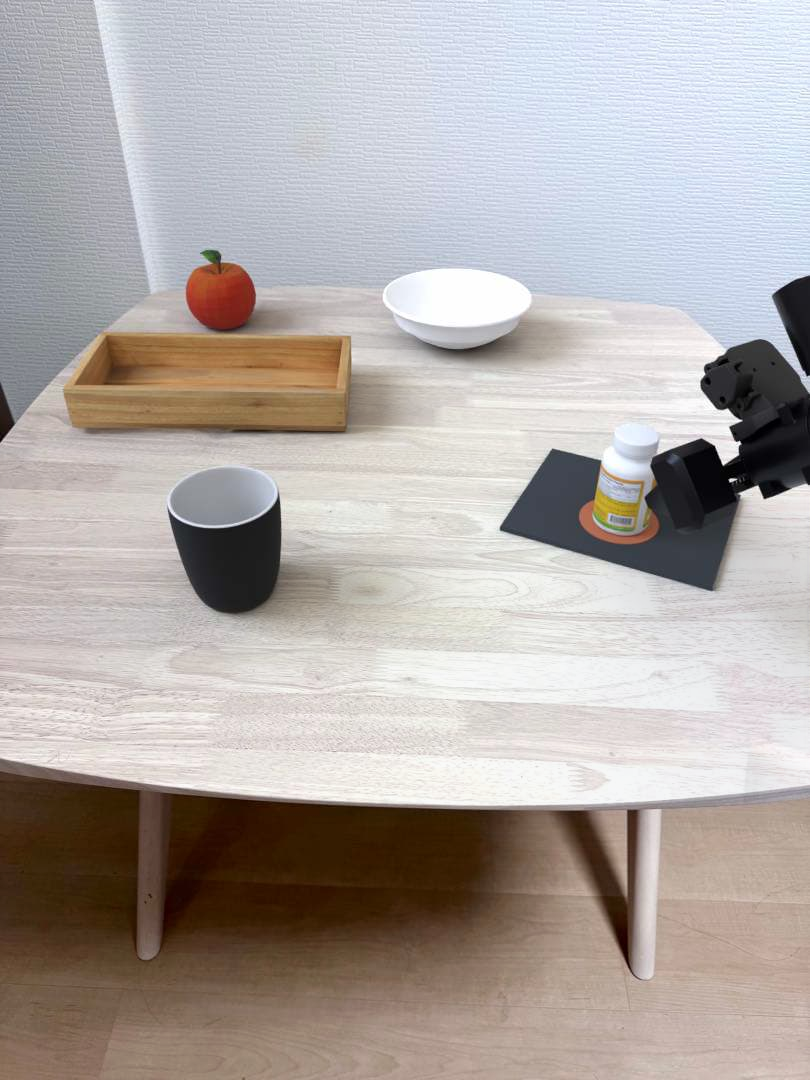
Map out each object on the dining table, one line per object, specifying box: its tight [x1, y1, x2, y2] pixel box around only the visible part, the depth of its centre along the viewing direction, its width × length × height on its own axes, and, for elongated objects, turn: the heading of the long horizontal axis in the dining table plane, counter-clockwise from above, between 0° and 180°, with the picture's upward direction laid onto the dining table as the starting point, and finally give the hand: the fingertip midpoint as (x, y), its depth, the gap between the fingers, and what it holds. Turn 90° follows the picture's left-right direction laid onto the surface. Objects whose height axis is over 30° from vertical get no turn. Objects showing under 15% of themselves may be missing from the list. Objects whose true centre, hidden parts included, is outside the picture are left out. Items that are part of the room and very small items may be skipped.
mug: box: [166, 464, 282, 614], centre depth 72 cm, size 12×9×10 cm
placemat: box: [499, 448, 742, 592], centre depth 84 cm, size 20×16×1 cm
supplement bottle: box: [593, 422, 661, 536], centre depth 79 cm, size 5×5×10 cm
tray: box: [62, 331, 352, 432], centre depth 100 cm, size 31×15×6 cm, turn 91°
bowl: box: [382, 267, 533, 350], centre depth 114 cm, size 20×20×6 cm
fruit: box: [185, 249, 257, 331], centre depth 116 cm, size 10×10×10 cm
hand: (687, 486), depth 73 cm, fingers open, 9 cm apart
